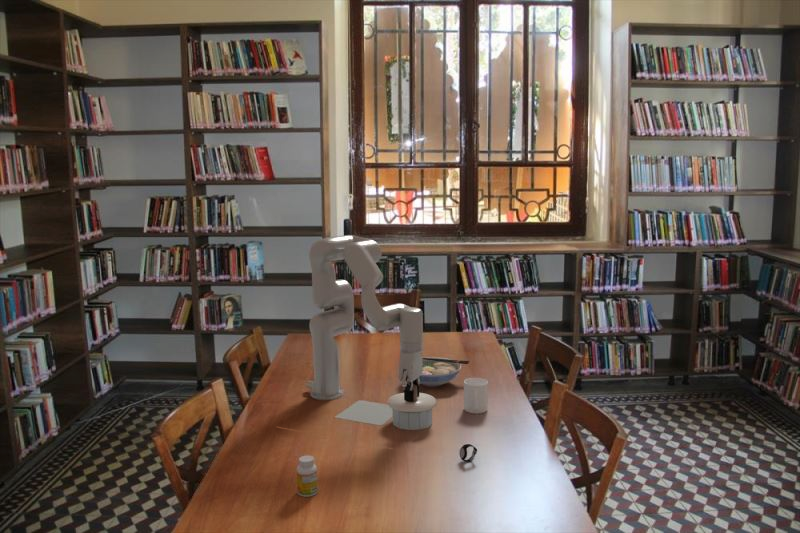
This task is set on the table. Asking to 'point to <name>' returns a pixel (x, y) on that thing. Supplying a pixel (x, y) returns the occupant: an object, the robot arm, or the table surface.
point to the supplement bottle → (307, 477)
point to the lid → (417, 405)
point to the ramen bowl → (439, 370)
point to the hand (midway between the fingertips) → (411, 398)
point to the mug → (475, 395)
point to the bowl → (412, 419)
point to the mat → (367, 413)
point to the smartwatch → (464, 452)
